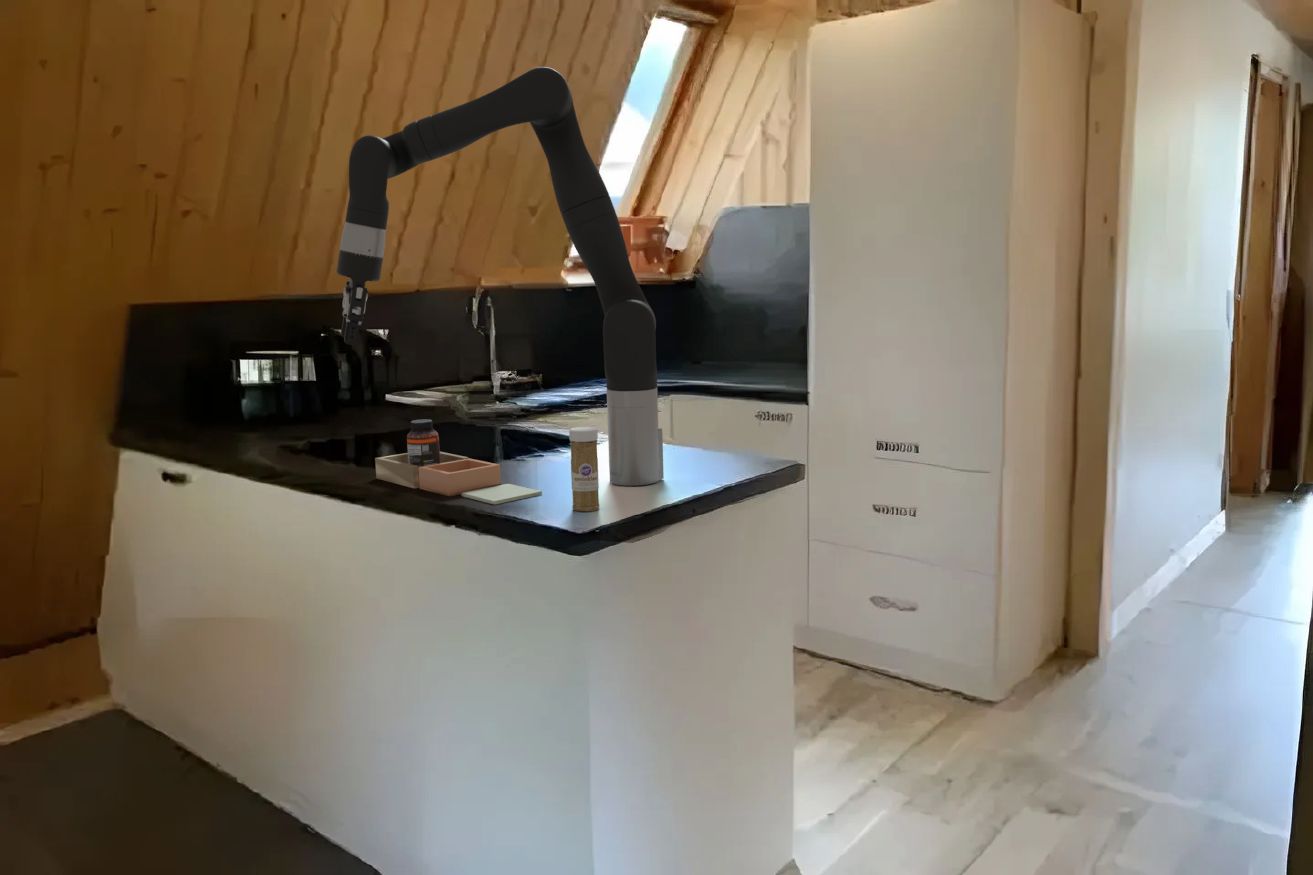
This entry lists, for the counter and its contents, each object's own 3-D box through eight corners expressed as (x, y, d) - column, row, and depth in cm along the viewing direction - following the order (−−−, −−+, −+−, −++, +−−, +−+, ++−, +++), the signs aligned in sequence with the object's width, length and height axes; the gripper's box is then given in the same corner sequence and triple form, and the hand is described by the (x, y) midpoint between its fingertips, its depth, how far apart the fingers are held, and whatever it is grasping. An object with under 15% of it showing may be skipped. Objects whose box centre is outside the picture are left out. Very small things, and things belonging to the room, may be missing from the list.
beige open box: (430, 468, 205) (429, 449, 204) (469, 477, 195) (468, 457, 194) (376, 478, 197) (375, 458, 196) (414, 488, 187) (412, 466, 186)
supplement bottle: (428, 474, 199) (424, 417, 197) (448, 478, 195) (444, 419, 194) (403, 480, 195) (399, 421, 193) (422, 483, 191) (419, 423, 189)
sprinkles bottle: (577, 513, 164) (574, 431, 162) (568, 507, 168) (565, 427, 166) (604, 510, 166) (601, 428, 164) (594, 504, 170) (591, 425, 168)
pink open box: (470, 479, 194) (469, 458, 193) (501, 486, 187) (500, 464, 186) (419, 488, 186) (418, 467, 186) (449, 496, 179) (448, 474, 178)
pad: (508, 486, 186) (508, 483, 186) (541, 494, 179) (541, 491, 179) (461, 496, 179) (461, 492, 179) (494, 504, 172) (494, 501, 172)
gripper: (387, 258, 176) (373, 350, 179) (379, 253, 189) (366, 339, 192) (342, 249, 173) (329, 343, 176) (337, 245, 186) (324, 333, 189)
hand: (348, 341), depth 184 cm, fingers open, 8 cm apart
